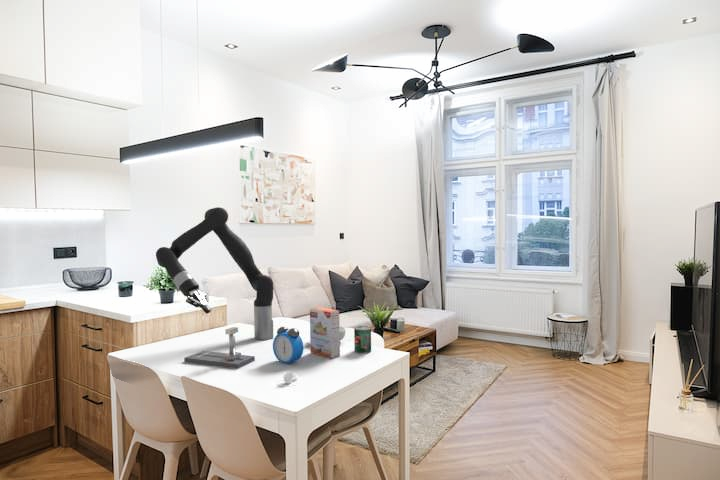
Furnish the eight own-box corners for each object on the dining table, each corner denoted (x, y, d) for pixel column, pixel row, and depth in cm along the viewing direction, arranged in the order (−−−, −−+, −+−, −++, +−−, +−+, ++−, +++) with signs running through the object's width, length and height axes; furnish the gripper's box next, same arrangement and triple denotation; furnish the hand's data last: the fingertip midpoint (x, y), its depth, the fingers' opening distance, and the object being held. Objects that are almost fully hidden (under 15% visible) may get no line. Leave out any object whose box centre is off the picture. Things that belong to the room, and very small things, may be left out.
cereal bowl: (333, 348, 218) (333, 334, 218) (305, 344, 226) (305, 330, 226) (351, 340, 233) (351, 326, 233) (324, 337, 241) (324, 323, 241)
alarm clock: (272, 361, 198) (271, 327, 198) (282, 358, 203) (282, 324, 203) (294, 366, 191) (293, 330, 190) (304, 362, 196) (304, 328, 195)
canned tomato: (374, 351, 213) (374, 327, 213) (362, 354, 207) (362, 330, 207) (362, 348, 219) (362, 325, 218) (350, 351, 213) (350, 327, 213)
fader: (223, 358, 195) (222, 329, 194) (231, 355, 200) (231, 326, 200) (233, 359, 193) (232, 330, 192) (241, 356, 198) (240, 327, 198)
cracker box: (309, 353, 210) (309, 308, 210) (319, 350, 215) (318, 306, 214) (330, 359, 201) (330, 311, 200) (340, 356, 205) (339, 309, 204)
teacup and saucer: (293, 378, 177) (292, 368, 177) (305, 383, 171) (305, 372, 171) (273, 383, 171) (273, 373, 171) (285, 389, 165) (285, 378, 165)
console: (184, 362, 199) (184, 357, 198) (203, 354, 210) (203, 350, 210) (237, 368, 188) (237, 363, 188) (254, 360, 199) (254, 356, 199)
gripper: (179, 279, 197) (203, 309, 193) (200, 276, 209) (223, 303, 205) (170, 291, 199) (193, 320, 195) (191, 287, 211) (214, 314, 207)
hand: (208, 312), depth 200 cm, fingers closed
